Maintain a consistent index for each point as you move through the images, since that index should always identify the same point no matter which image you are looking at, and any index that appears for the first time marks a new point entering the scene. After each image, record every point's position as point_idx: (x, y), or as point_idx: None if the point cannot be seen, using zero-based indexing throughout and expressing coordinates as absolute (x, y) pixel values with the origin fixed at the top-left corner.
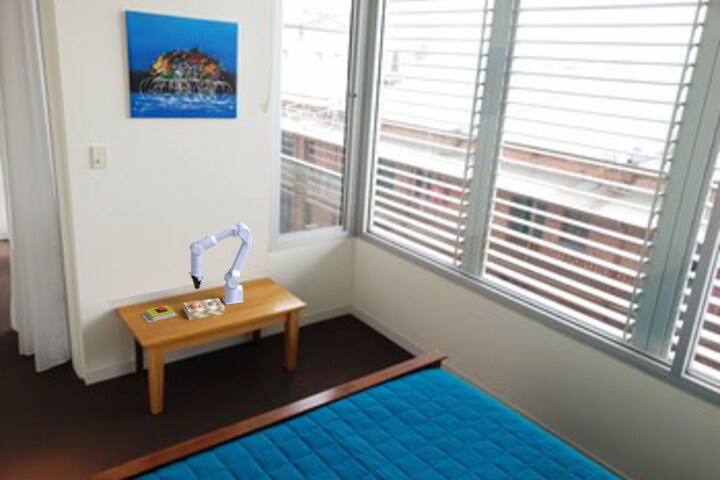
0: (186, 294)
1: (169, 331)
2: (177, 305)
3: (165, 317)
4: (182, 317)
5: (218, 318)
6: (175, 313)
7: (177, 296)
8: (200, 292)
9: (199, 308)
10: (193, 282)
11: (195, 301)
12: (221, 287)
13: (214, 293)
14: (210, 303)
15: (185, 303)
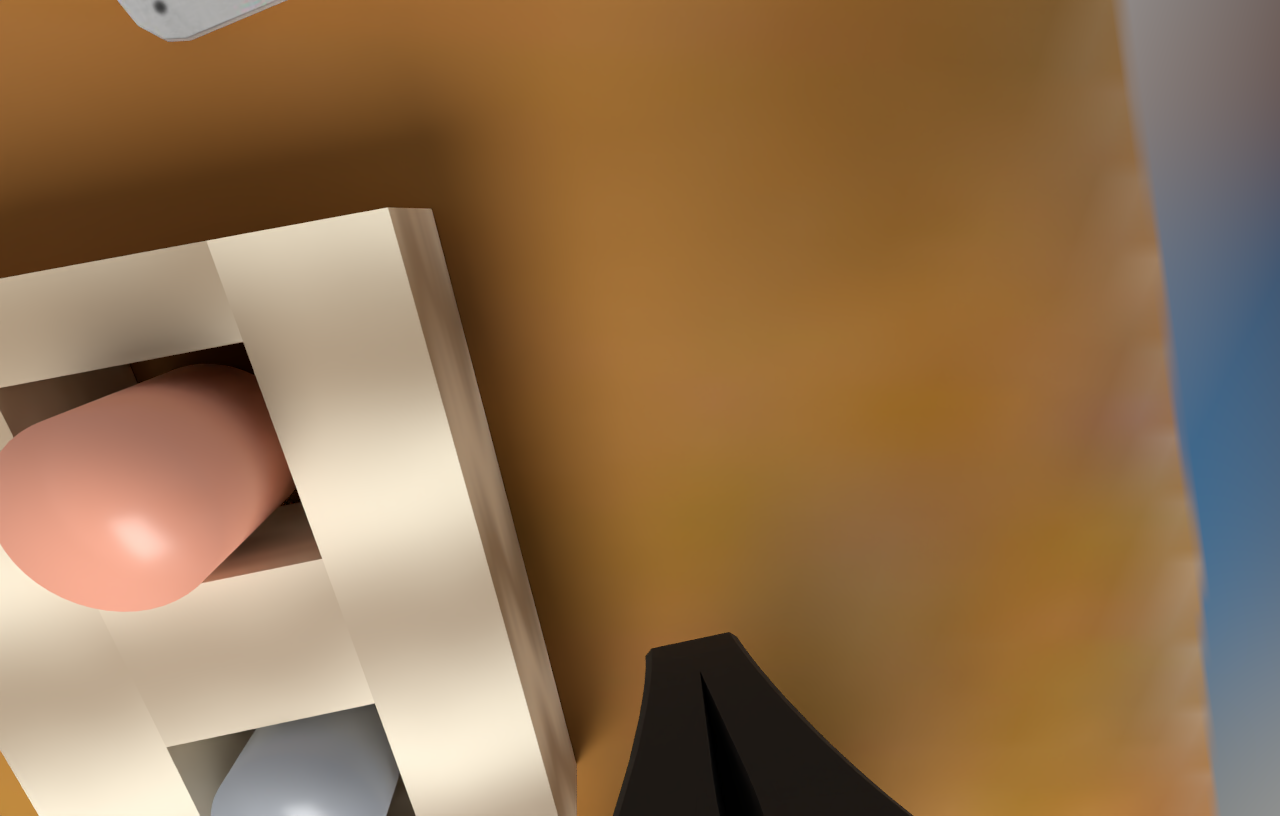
0: (1140, 292)
1: None
2: (675, 83)
3: None
4: (48, 159)
5: None
6: (237, 8)
7: (1113, 109)
8: (1131, 528)
9: None
10: (817, 778)
11: (220, 524)
12: (1189, 809)
13: (1015, 722)
14: (267, 784)
15: (347, 252)
